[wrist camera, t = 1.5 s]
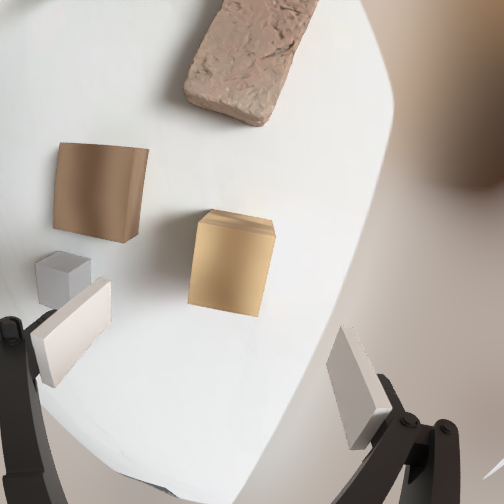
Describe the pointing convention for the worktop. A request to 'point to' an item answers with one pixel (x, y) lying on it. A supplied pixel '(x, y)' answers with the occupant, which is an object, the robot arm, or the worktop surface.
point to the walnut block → (99, 190)
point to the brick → (247, 57)
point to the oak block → (231, 262)
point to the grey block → (61, 278)
